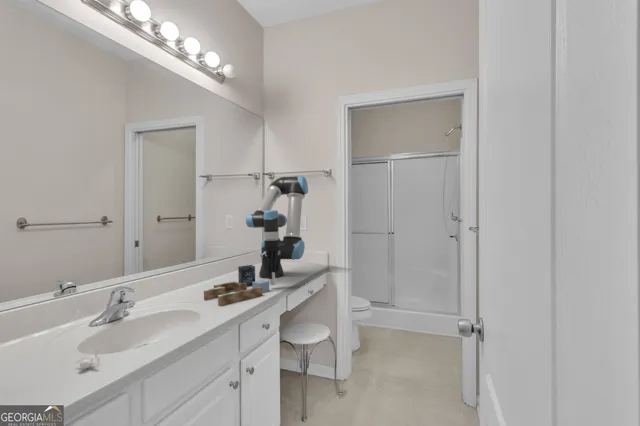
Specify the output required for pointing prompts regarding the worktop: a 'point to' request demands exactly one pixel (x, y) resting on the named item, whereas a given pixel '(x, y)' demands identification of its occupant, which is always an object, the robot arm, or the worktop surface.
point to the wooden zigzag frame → (231, 293)
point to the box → (246, 274)
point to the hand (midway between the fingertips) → (272, 284)
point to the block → (261, 285)
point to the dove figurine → (89, 360)
